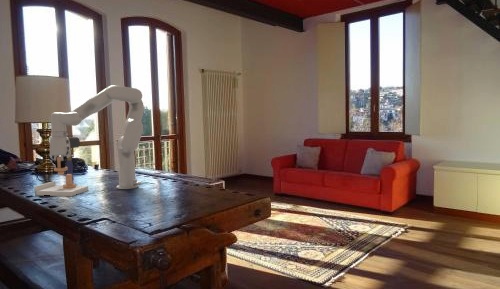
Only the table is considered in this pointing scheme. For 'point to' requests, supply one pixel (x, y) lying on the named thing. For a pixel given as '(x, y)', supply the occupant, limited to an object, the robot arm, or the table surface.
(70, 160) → the rubber mallet
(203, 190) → the table surface
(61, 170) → the dome with square post
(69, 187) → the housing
